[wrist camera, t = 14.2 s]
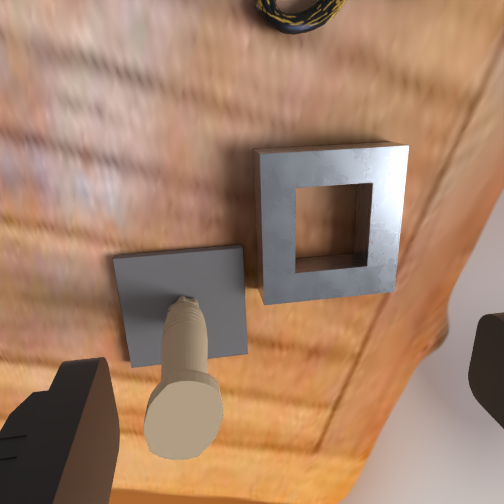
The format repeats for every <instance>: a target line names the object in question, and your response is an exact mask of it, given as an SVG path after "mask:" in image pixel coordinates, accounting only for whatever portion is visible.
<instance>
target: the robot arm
mask: <svg viewBox="0 0 504 504" xmlns="http://www.w3.org/2000/svg"><path fill="white" fill-rule="evenodd" d="M468 379H469V385H470V388H471V391H472V393H473V395H474V397H475V398H476V400H477V401H478V402H479V403H480V404H481V405H482V407H484V409H485V410H486V411H487V412H488V413H489V414H490V415H491V416H492V417H493V418H494V419H495V420H496V421H497V422H498V423H499V424H500V425H501V426H502V427H503V429H504V313H495V314H487V315H484V316H483V317H482V318H481V319H480V320H479V322H478V326H477V331H476V336H475V341H474V346H473V351H472V357H471V361H470V366H469V372H468ZM119 440H120V429H119V418H118V413H117V408H116V403H115V398H114V393H113V387H112V382H111V377H110V372H109V367H108V363H107V361H106V359H105V358H104V357H99V358H91V359H82V360H73V361H64V362H63V363H62V364H61V365H60V367H59V369H58V371H57V374H56V376H55V378H54V380H53V382H52V384H51V386H50V388H49V390H48V391H40V392H33V393H32V394H31V395H30V396H29V397H28V398H27V399H26V400H25V401H23V402H22V403H21V404H20V405H19V406H18V407H17V408H16V409H15V410H14V411H13V412H12V413H11V414H10V415H9V417H8V419H7V420H6V422H5V424H4V426H3V428H2V429H1V431H0V504H108V503H109V498H110V492H111V488H112V482H113V477H114V472H115V467H116V462H117V457H118V451H119Z"/></svg>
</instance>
